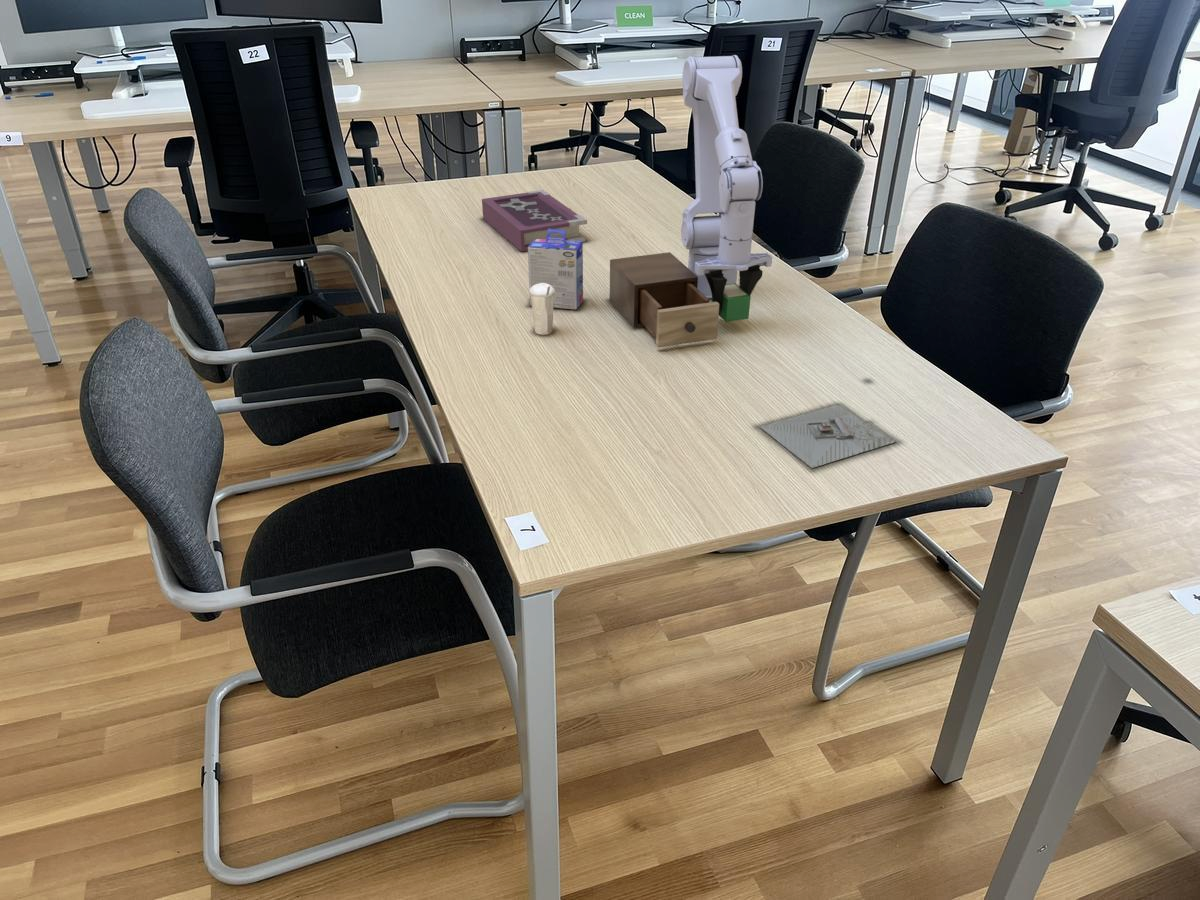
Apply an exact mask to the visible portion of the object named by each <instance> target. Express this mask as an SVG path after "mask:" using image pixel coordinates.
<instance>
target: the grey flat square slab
mask: <svg viewBox="0 0 1200 900" xmlns="http://www.w3.org/2000/svg"><path fill="white" fill-rule="evenodd" d="M759 428H760V429H762V430H763V431H764V432H766V433H767V435H769V436H770V437H772V438H773V439H774V440H776V441H777V442H778V443H779V444H781V446H783V447H784V448H786V449H787V450H788V451H790V452H791V453H792V454H793V455H795V456H796V457H797V458H798V459H800V460H801V461H802V462H803V463H805V464H806V465H807V466H808V467H810V469H814V468H818V467H820V466H823V465H827V464H830V463H833V462H836V461H840V460H842V459H846V458H849V457H853V456H855V455H858V454H862V453H865V452H868V451H872V450H875V449H878V448H881V447H884V446H887V445H890V444H894V443H896V442H897V441H895V440H894V439H893V438H891V436H889V435H887V434H885V433H884V432H883V431H881V430H880V429H878V428H877V427H876V426H874V425H872V424H870V422H868V421H863V420H862V419H861V418H859V417H858V416H856V415H855V414H853V413H852V412H850V411H849V410H847V409H846V408H844V407H843V406H842V405H840V404H834V405H830V406H828V407H824V408H820V409H817V410H813V411H810V412H806V413H803V414H799V415H796V416H792V417H789V418H785V419H782V420H778V421H775V422H771V423H768V424H764V425H760V426H759Z"/></svg>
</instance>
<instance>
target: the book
mask: <svg viewBox="0 0 1200 900" xmlns="http://www.w3.org/2000/svg"><path fill="white" fill-rule="evenodd" d="M481 208H482V219H483V220H484V221H485V222H486V223H487V224H489V225H490V226H491V227H492V228H494V230H495V231H497V233H499V234H500V235H502V236H503V237H504V238H505V239H506V240H507V241H509V242H510V243H511V244H512V245H513V246H514V247H515V248H516V249H518V250H519V252H521V253H523V252H528V247H529V245H530V244H531V243H532V242H533V241H534V240H535V239H546V238H547V233H548V229H561V230H566V238H565V240H567V241H582V243H584V242H586V241H587V240H586V236H585V235H583V234H582V233H580V226H583V225H588V219H586V218H585V217H584V216H582V215H580V214H578V213H576V212H575V211H573V210H572V209H571V208H569V207H568V206H566V205H565V204H564V203H562V202H561V201H559V200H558V199H556V198H555V197H554V196H552V195H551V194H550V193H549V192H548V191H546V190H544V189H539V190H531V191H527V192H521V193H514V194H508V195H507V194H506V195H501V196H494V197H487V198H485V197H484V198H481ZM550 236H551V237H559V238H561V237H563V235H562V234H559V233H552V234H550Z"/></svg>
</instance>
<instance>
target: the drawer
mask: <svg viewBox="0 0 1200 900" xmlns="http://www.w3.org/2000/svg"><path fill="white" fill-rule="evenodd" d="M719 317H720V316H719V303H718V302H712V301H710V298H709V299H708V298H707V297H706V296H705V295H704V294H703V293H701V292H700V291H699V290H698V289H697V288H696V287H695V286H694V285H693V284H692V283H690V282H685V283H677V284H670V285H662V286H655V287H647V288H640V289H639V290H638V319H639V321H640V322H641V323H642V324H643V325H644V326H645V327H644V328H645V329H646V330H647V331H648V332H649V333H650V334H651V335H652V336H653V338H654V339H655V345H656V347H657V348H665V347H672V346H679V345H684V344H691V343H697V342H704V341H710V340H711V341H712V340H717V339H718V326H719Z"/></svg>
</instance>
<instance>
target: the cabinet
mask: <svg viewBox="0 0 1200 900" xmlns="http://www.w3.org/2000/svg"><path fill="white" fill-rule="evenodd" d="M685 282H690V283H692V284H693V285H694V286H695V287H696V288H697V287H698V276H696V275H695V274H694V273H693V272H692V271H691V270H690V269H688V266H686V264H684V263H683V262H681V260H680V259H679V258H678V257H676V256H675V255H674V254H673V253H672V252H670V251H667V252H661V253H651V254H645V255H636V256H628V257H620V258H612V259H609V302H610V303H611V304H612V305H613V306H614V308H615V309H616V310H617V311H618V312H619V313H620V314H621V315H622V317H623V318H624V319H625V320H626V321H627V323H629V325H630V326H631V327H632V328H633V329H638V328H639V329H640V328H646V327H645V326H644V325H643V324H642V323H641V322H640V321H639V319H638V290H639V289H640V288H647V287H655V286H662V285H670V284H677V283H685Z"/></svg>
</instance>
